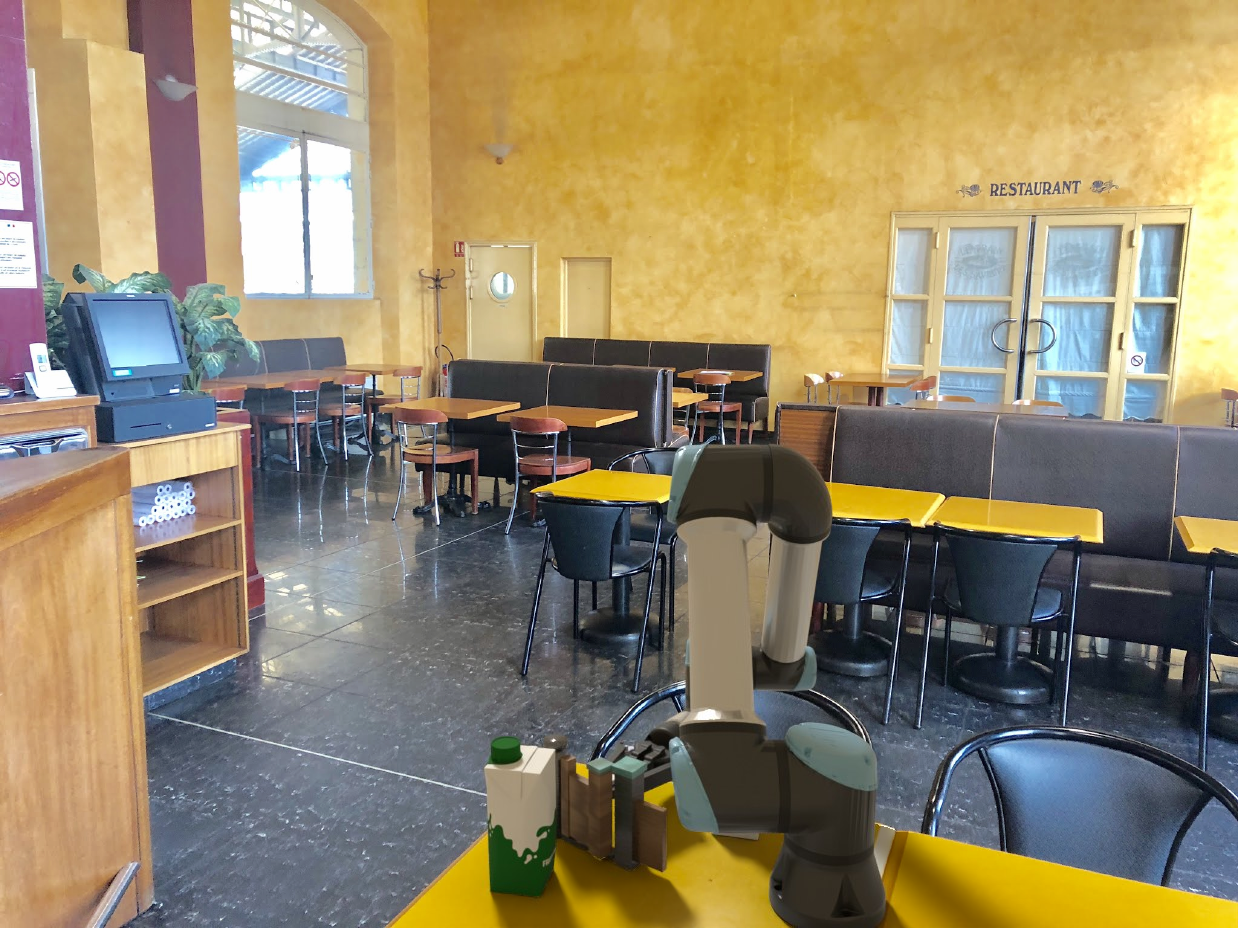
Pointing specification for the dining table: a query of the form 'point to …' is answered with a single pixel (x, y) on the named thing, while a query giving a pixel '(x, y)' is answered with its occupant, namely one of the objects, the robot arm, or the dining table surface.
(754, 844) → the dining table surface
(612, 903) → the dining table surface
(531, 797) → the milk carton
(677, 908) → the dining table surface
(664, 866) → the gate posts
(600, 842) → the gate
